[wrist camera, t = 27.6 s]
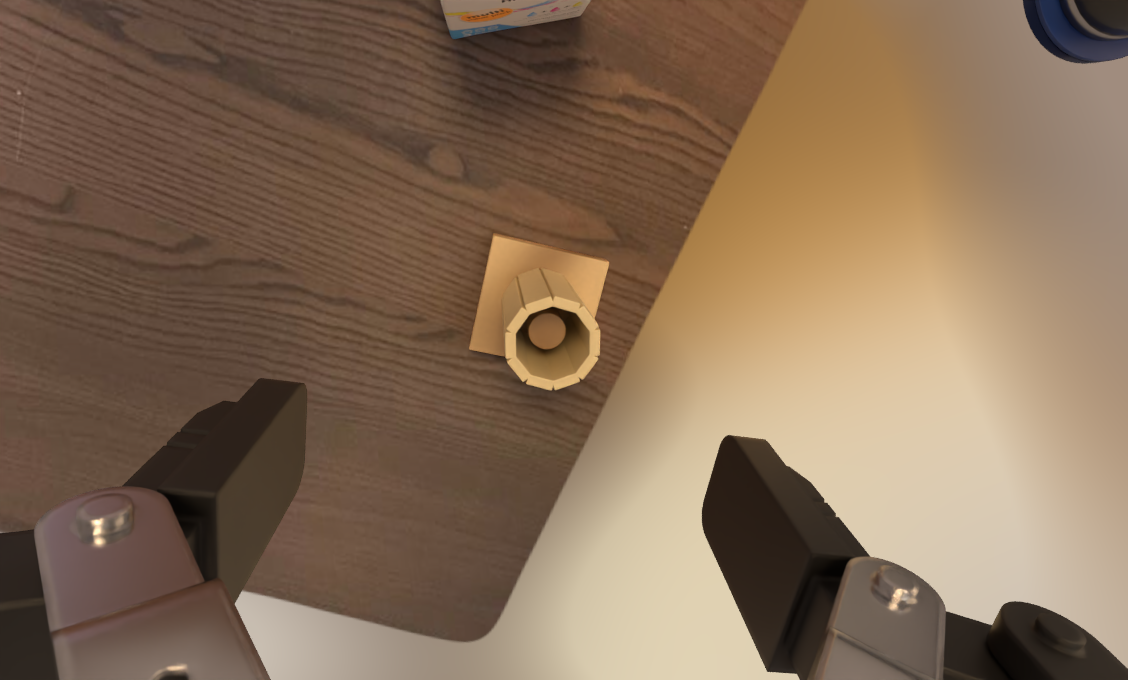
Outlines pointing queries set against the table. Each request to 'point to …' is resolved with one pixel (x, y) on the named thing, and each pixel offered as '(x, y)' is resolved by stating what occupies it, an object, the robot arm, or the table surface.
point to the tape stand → (507, 264)
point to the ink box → (505, 14)
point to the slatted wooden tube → (577, 345)
